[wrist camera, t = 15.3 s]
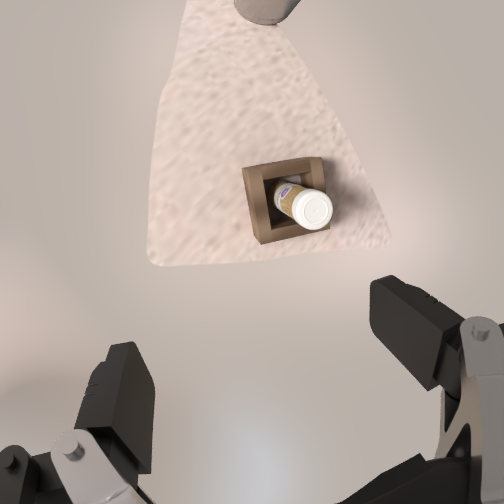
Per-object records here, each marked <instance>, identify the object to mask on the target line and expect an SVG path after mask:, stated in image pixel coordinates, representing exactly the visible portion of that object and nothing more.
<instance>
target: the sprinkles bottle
mask: <svg viewBox="0 0 504 504" xmlns="http://www.w3.org/2000/svg"><path fill="white" fill-rule="evenodd" d="M269 201H270V203H271V204H272V205H273V206H274V207H275V208H277V209H279V210H280V211H282V212H283V213H285V214H286V215H288V216H289V217H291V218H293V219H295V221H296V222H297V223H298V224H300V225H301V226H303V227H304V228H306V229H309V230H318V229H320V228H323V227H324V226H325V225H326V224H327V223H328V222H329V221H330V219H331V217H332V214H333V205H332V202H331V200H330V198H329V197H328V196H327V195H326V194H325V193H323V192H321V191H319V190H315V189H308V188H305V187H302V186H300V185H297V184H294V183H290V182H288V181H278V182H276V183H275V184H273V185H272V186H271V188H270V190H269Z"/></svg>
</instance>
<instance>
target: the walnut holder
mask: <svg viewBox="0 0 504 504" xmlns="http://www.w3.org/2000/svg"><path fill="white" fill-rule="evenodd" d="M242 173H243V178H244V184H245V189H246V194H247V200H248V205H249V211H250V216H251V221H252V227H253V232H254V236H255V237H256V239H257V240H258V241H259V242H260V244H261V245H262V244H266V243H270V242H275V241H279V240H283V239H288V238H292V237H296V236H301V235H305V234H309V233H314V232H318V231H322V230H327V229H330V224H329V222H328V223H327V224H326V225H325V226H324V227H323V228H320V229H318V230H309V229H306V228H304V227H303V226H301V225H300V224H298V223H297V222H296V221H295V219H293V218H291V217H284V218H280V219H275V220H271V221H270V219H269V213H268V207H267V201H266V195H265V189H264V184H263V180H265V179H271V178H276V177H281V176H287V175H293V174H299V173H300V177H301V184H302V187H305V188H308V189H315V190H319V191H321V192H323V193H325V194H326V189H325V181H324V174H323V166H322V159H321V157H303V158H297V159H290V160H284V161H278V162H272V163H266V164H261V165H255V166H250V167H245V168H242Z"/></svg>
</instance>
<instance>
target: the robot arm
mask: <svg viewBox="0 0 504 504" xmlns="http://www.w3.org/2000/svg"><path fill="white" fill-rule="evenodd" d="M299 2H300V0H234V4H235V7H236V9H237V11H238V12H239V13H240V15H242V16H243V17H244V18H245V19H247V20H249V21H251V22H254V23H257V24H262V25H271V24H276V23H279V22H281V21H283V20H284V19H285V18H287V17H288V15H289V14H290V13H291V12H292V10H293V9H294V8H295V7H296V5H297V4H298V3H299ZM370 326H371V329H372V331H373V333H374V335H375V336H376V337H377V338H378V339H379V340H380V341H381V342H382V343H383V344H384V345H385V346H386V347H387V348H388V349H389V350H390V351H391V353H392V354H393V355H394V356H395V357H396V358H397V359H398V360H399V361H400V362H401V363H402V364H403V365H404V366H405V367H406V368H407V370H409V372H410V373H411V374H412V375H413V376H414V377H415V378H416V379H417V380H418V381H419V383H420V384H421V385H422V386H423V387H424V388H425V389H426V390H427V391H429V390H431V389H433V388H434V387H436V386H438V385H441V386H442V387H443V389H442V393H441V420H440V438H439V444H438V448H437V451H436V454H435V458H434V459H432V460H428V461H425V459H424V458H423V457H422V455H421V454H420V453H419V454H417V455H416V456H414V457H412V458H410V459H409V460H407V461H405V462H403V463H401V464H399V465H397V466H395V467H393V468H392V469H389V470H388V471H385V472H383V473H381V474H380V475H379V476H377V477H376V478H375V479H374V480H372V481H371V482H369V483H368V484H367V485H365V486H364V487H363V488H361V489H360V490H358V491H357V492H356V493H354V494H353V495H351V496H350V497H349V498H347V499H345V500H344V501H342V502H340V503H337V504H504V323H503V324H499V325H498V324H497V323H495V322H494V321H493V320H491V319H489V318H485V317H478V316H477V317H471V318H468V319H464V318H463V317H461V316H460V315H459V314H457V313H456V312H454V311H453V310H452V309H450V308H449V307H447V306H446V305H444V304H443V303H441V302H438V300H437V299H436V298H434V297H433V296H430V294H428V293H427V292H425V291H424V290H422V289H421V288H418V287H415V286H412V285H409V284H405V283H404V282H403V281H401V280H400V279H398V278H397V277H395V276H393V275H389V276H386V277H383V278H380V279H377V280H374V281H372V282H371V285H370ZM154 402H155V387H154V383H153V380H152V377H151V375H150V373H149V371H148V369H147V367H146V365H145V363H144V360H143V358H142V357H141V354H140V352H139V350H138V348H137V346H136V344H135V343H134V342H127V343H120V344H115V345H111V346H110V349H109V352H108V355H107V358H106V361H104V362H100V364H99V365H98V366H97V367H96V368H95V370H94V371H93V372H92V374H91V377H90V380H89V383H88V387H87V388H86V391H85V396H84V398H83V401H82V404H81V407H80V410H79V413H78V417H77V420H76V423H75V427H74V430H70V431H67V432H65V433H64V434H62V435H60V436H59V437H58V438H57V439H56V441H55V442H54V444H53V446H52V449H51V452H47V453H43V454H39V455H35V456H31V455H30V454H29V453H27V451H26V450H25V449H24V448H23V447H21V446H18V445H11V446H8V447H6V448H5V449H3V450H2V451H1V452H0V504H156V503H155V502H154V501H153V500H152V499H151V498H150V497H149V496H148V495H147V494H146V492H145V491H144V490H143V489H142V488H141V487H140V486H139V485H138V474H151V459H152V432H153V417H154Z"/></svg>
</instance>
